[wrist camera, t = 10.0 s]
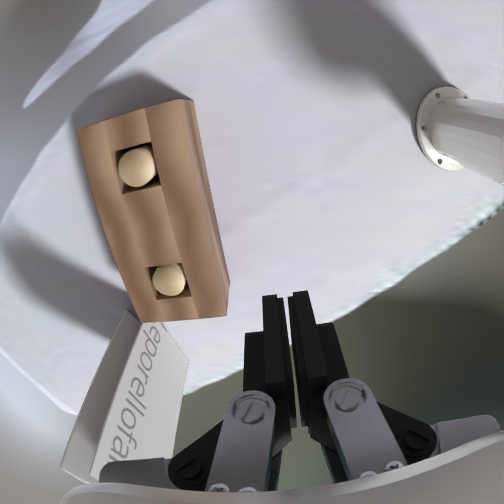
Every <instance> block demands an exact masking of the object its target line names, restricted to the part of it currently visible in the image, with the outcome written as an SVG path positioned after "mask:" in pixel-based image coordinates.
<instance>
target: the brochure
mask: <svg viewBox="0 0 504 504" xmlns="http://www.w3.org/2000/svg"><path fill="white" fill-rule="evenodd" d="M188 364H189V359H188V358H187V356H186V355H185V354H184V352H183V351H182V349H181V348H180V346H179V345H178V343H177V342H176V341H175V339H174V338H173V336H172V335H171V333H170V332H169V330H168V329H167V327H166V326H165V324H164V323H163V322H152V323H141V322H140V321H139V320H138V319H136V318H135V317H134V316H133V315H132V314H131V313H129V312H128V311H127V310H126V311H125V313H124V315H123V317H122V319H121V321H120V323H119V325H118V327H117V329H116V331H115V333H114V335H113V337H112V339H111V341H110V343H109V345H108V348H107V350H106V352H105V354H104V356H103V358H102V361H101V363H100V365H99V367H98V369H97V372H96V374H95V376H94V378H93V381H92V383H91V385H90V388H89V390H88V392H87V395H86V397H85V400H84V402H83V404H82V407H81V409H80V412H79V414H78V417H77V420H76V422H75V425H74V428H73V430H72V433H71V436H70V438H69V441H68V443H67V446H66V449H65V452H64V455H63V458H62V461H61V464H60V468H61V469H63V470H64V471H66V472H67V473H69V474H71V475H73V476H74V477H76V478H77V479H79V480H81V481H82V482H84V483H86V484H91V483H99V475H100V470H101V469H102V468H103V466H104V465H106V464H107V463H109V462H113V461H125V460H139V459H151V458H160V457H164V458H165V459H170V458H172V453H173V447H174V441H175V435H176V429H177V422H178V418H179V411H180V406H181V400H182V395H183V390H184V385H185V379H186V374H187V369H188Z"/></svg>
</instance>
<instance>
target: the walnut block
mask: <svg viewBox="0 0 504 504" xmlns="http://www.w3.org/2000/svg"><path fill="white" fill-rule="evenodd" d="M77 133H78V138H79V142H80V147H81V151H82V155H83V159H84V163H85V167H86V171H87V175H88V178H89V182H90V186H91V189H92V193H93V196H94V199H95V203H96V206H97V209H98V213H99V216H100V219H101V222H102V225H103V228H104V231H105V234H106V237H107V240H108V242H109V245H110V248H111V251H112V254H113V256H114V259H115V262H116V264H117V267H118V269H119V272H120V275H121V277H122V280H123V282H124V285H125V287H126V289H127V292H128V294H129V297H130V299H131V301H132V304H133V306H134V308H135V310H136V313H137V315H138V317H139V319H140V322H141V323H152V322H166V321H179V320H191V319H202V318H213V317H223V316H227V306H228V296H229V286H230V280H229V275H228V271H227V266H226V262H225V257H224V252H223V248H222V243H221V238H220V234H219V229H218V224H217V219H216V215H215V210H214V205H213V200H212V195H211V190H210V185H209V180H208V175H207V170H206V165H205V160H204V154H203V149H202V144H201V139H200V133H199V128H198V122H197V117H196V111H195V106H194V100H184V99H177V100H173V101H169V102H165V103H161V104H157V105H153V106H150V107H146V108H143V109H139V110H136V111H132V112H129V113H126V114H123V115H120V116H117V117H114V118H111V119H108V120H105V121H102V122H99V123H96V124H94V125H91V126H88V127H86V128H83V129H80V130H78V131H77ZM147 142H151V143H152V147H153V152H154V157H155V161H156V165H157V170H158V174H157V175H156V176H155V177H153V178H152V179H151V180H150V181H149V182H147V183H146V184H145V185H143V186H140V187H133V186H129V185H128V184H126V183H125V182H124V181H123V180H122V179H121V177H120V175H119V170H118V166H119V162H120V159H121V158H122V156H123V155H124V154H125V153H127V152H129V151H131V150H133V149H135V148H138V147H137V145H139V144H143V143H147ZM175 263H182V265H183V269H184V272H185V275H186V279H187V280H186V283H185V286H184V289H183V290H182V292H181V293H179V294H178V295H174V296H168V295H164V294H162V293H160V292H159V291H158V290H157V289H156V288H155V286H154V284H153V275H154V273H155V271H156V269H157V267H158V266H160V265H168V264H175Z"/></svg>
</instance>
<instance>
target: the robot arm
mask: <svg viewBox="0 0 504 504" xmlns="http://www.w3.org/2000/svg"><path fill="white" fill-rule="evenodd" d="M416 130H417V136H418V140H419V143H420V146H421V148H422V150H423V152H424V154H425V155H426V157H427V158H428V159H429V160H430V161H431V162H432V163H433V164H434V165H436V166H437V167H439V168H441V169H444V170H447V171H458V170H462V169H463V168H468V169H470V170H472V171H474V172H477V173H479V174H481V175H483V176H485V177H488V178H490V179H492V180H494V181H496V182H498V183H500V184H502V185H504V104H503V103H497V102H490V101H483V100H475V99H470V98H469V97H468V96H467V95H466V94H465V93H464V92H462V91H461V90H459V89H457V88H453V87H438V88H436V89H433V90H432V91H431V92H429V93H428V94H427V95H426V96H425V97H424V99H423V100H422V102H421V104H420V107H419V110H418V113H417V120H416ZM262 305H263V331H260V332H250V333H245V346H244V379H243V392H242V393H239V394H238V395H236V396H235V397H234V398H233V399H232V400H231V401H230V402H229V404H228V406H227V409H226V412H225V417H224V419H223V420H222V421H221V422H220V423H219V424H217V425H216V426H215V427H213V428H212V429H211V430H209V431H208V432H207V433H205V434H204V435H203V436H202V437H200V438H199V439H198V440H196V441H195V442H194V443H192V444H191V445H189V446H188V447H187V448H185V449H184V450H182V451H181V452H180V453H178V454H177V455H176V456H175V457H174V458H170V459H165V458H164V457H160V458H151V459H139V460H125V461H113V462H109V463H107V464H106V465H104V466H103V468H102V469H101V470H100V475H99V483H91V484H86V485H81V486H78V487H75V488H73V489H71V490H69V491H68V492H67V493H66V494H65V495H64V496H63V497H62V499H61V500H60V502H59V504H504V431H500V428H499V425H498V422H497V421H496V420H495V419H494V418H493V417H491V416H489V415H481V416H475V417H470V418H465V419H459V420H453V421H445V422H438V423H437V424H436V425H433V426H429V425H427V424H426V423H424V422H421V421H419V420H417V419H414V418H412V417H410V416H407V415H405V414H403V413H401V412H398V411H396V410H394V409H392V408H389V407H387V406H385V405H383V404H381V403H379V402H377V401H376V400H375V398H374V396H373V394H372V392H371V391H370V389H369V388H368V386H367V385H366V384H364V383H363V382H361V381H359V380H357V379H352V378H349V375H348V372H347V368H346V365H345V361H344V358H343V354H342V351H341V348H340V344H339V341H338V338H337V334H336V331H335V328H334V325H333V323H332V322H330V323H323V324H316V322H315V317H314V313H313V309H312V305H311V302H310V298H309V294H308V291H307V290H306V291H299V292H293V296H291V297H288V307H289V317H290V329H291V340H292V351H293V359H294V367H295V374H296V383H297V390H298V399H299V407H300V415H301V424H302V427H304V426H308V433H309V434H310V437H311V438H312V439H314V440H316V441H317V442H319V443H320V445H321V449H322V451H323V455H324V458H325V461H326V464H327V467H328V470H329V473H330V476H331V479H332V482H333V484H329V485H323V486H317V487H310V488H301V489H292V490H282V491H278V484H279V475H280V469H281V460H282V453H283V448H284V447H285V446H286V445H287V444H288V443H289V442H290V441H291V440H292V439H291V428H295V427H297V422H296V408H295V393H294V381H293V373H292V363H291V355H290V347H289V339H288V331H287V324H286V316H285V309H284V301H283V298H277V294H275V295H267V296H262Z"/></svg>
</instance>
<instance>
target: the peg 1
mask: <svg viewBox="0 0 504 504" xmlns="http://www.w3.org/2000/svg"><path fill="white" fill-rule="evenodd" d="M118 170H119V175H120V177H121V179H122V180H123V181H124V182H125V183H126V184H128V185H129V186H133V187H140V186H143V185H145V184H146V183H147V182H149V181H150V180H151V179H152V178H153V177H155V176H156V175H157V174H158V170H157V165H156V161H155V157H154V152H153V147H152V143H151V142H150V143H147V144H145V145H142V146H140V147H138V148H135V149H133V150H131V151H129V152H127V153H125V154H124V155H123V156H122V158H121V159H120V162H119V166H118Z"/></svg>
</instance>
